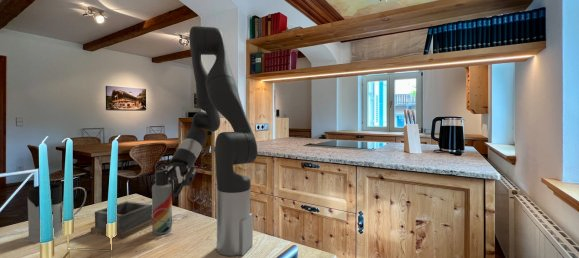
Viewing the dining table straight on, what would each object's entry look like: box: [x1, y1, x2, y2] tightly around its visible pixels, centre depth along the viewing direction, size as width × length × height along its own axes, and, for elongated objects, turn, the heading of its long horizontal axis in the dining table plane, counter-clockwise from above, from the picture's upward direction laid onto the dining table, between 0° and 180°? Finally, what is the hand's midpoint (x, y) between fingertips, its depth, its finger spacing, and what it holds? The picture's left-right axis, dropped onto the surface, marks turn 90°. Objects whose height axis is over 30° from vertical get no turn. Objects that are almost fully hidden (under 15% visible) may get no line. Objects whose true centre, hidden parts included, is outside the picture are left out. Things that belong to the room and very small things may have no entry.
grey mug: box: [26, 183, 87, 243], centre depth 83 cm, size 9×14×15 cm, turn 130°
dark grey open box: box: [90, 200, 152, 240], centre depth 88 cm, size 13×13×6 cm
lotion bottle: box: [151, 170, 173, 236], centre depth 85 cm, size 6×6×20 cm
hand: (163, 193), depth 86 cm, fingers open, 8 cm apart
